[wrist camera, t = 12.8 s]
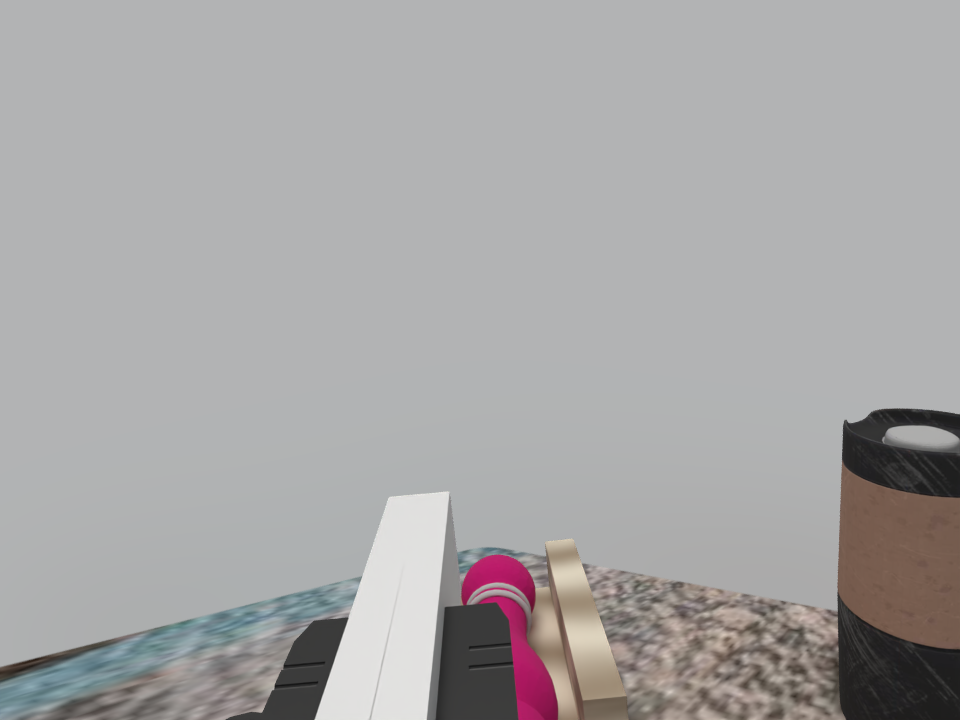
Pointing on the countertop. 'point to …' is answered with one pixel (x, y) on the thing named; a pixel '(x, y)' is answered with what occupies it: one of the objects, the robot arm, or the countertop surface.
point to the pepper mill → (515, 629)
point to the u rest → (575, 641)
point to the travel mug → (900, 566)
